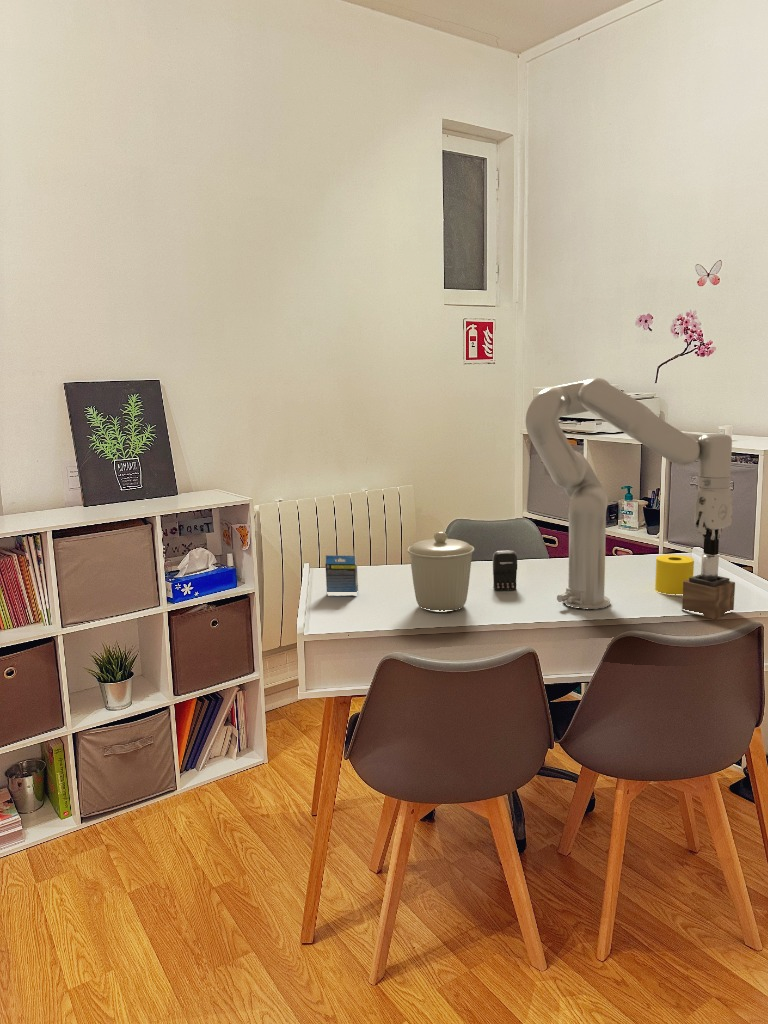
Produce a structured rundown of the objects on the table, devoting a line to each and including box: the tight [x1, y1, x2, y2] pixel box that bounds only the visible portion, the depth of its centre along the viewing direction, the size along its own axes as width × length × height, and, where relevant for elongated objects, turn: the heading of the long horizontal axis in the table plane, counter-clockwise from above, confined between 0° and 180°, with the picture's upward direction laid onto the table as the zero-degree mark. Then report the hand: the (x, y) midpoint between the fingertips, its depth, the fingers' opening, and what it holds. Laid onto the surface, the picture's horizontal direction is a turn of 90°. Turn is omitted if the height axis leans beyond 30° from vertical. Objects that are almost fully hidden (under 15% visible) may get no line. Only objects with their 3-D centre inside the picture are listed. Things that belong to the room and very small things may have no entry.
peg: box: [700, 553, 720, 582], centre depth 205 cm, size 4×4×8 cm
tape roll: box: [654, 554, 695, 595], centre depth 226 cm, size 10×10×9 cm
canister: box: [406, 531, 475, 611], centre depth 215 cm, size 18×18×21 cm
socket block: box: [681, 573, 736, 620], centre depth 207 cm, size 9×9×9 cm
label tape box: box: [325, 554, 359, 593], centre depth 231 cm, size 9×4×12 cm, turn 83°
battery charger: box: [492, 550, 518, 591], centre depth 231 cm, size 7×4×11 cm, turn 89°
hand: (710, 553), depth 205 cm, fingers closed
